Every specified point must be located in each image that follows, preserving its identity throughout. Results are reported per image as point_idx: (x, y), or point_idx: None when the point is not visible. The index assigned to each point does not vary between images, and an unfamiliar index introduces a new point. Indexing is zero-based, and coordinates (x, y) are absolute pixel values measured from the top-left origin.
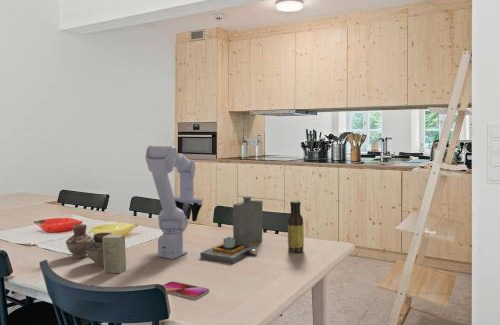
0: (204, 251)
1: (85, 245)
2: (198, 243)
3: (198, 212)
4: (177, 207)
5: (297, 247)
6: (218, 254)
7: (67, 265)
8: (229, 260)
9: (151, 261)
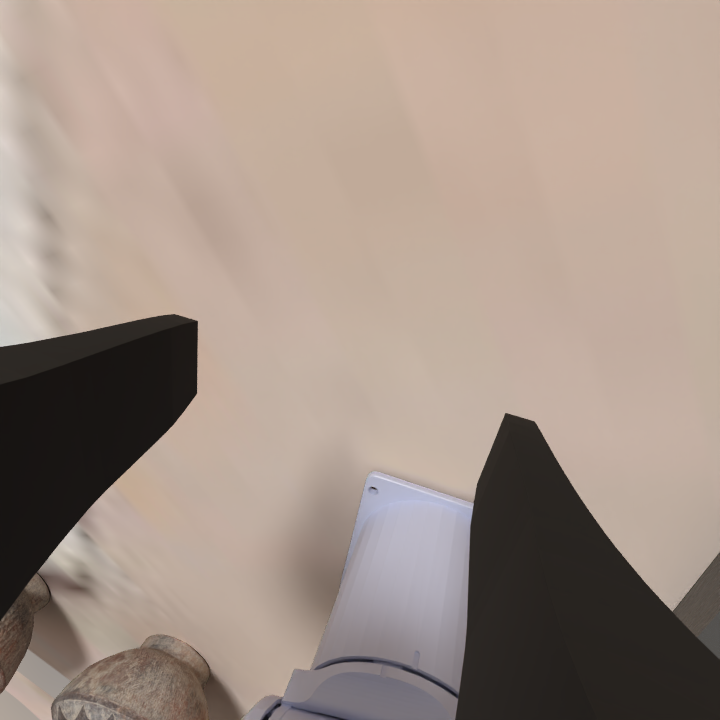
0: (716, 629)
1: (15, 671)
2: (525, 207)
3: (610, 549)
4: (4, 589)
5: None
6: None
7: (84, 667)
8: None
9: None
